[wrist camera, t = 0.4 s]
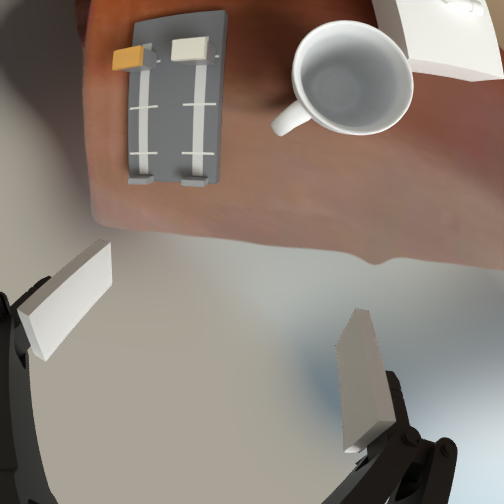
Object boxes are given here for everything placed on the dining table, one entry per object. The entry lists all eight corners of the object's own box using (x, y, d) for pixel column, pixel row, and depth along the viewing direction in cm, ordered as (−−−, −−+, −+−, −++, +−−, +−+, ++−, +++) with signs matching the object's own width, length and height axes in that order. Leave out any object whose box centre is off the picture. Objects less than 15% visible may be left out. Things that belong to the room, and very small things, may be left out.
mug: (303, 163, 36) (308, 184, 24) (250, 98, 33) (228, 86, 22) (391, 103, 31) (436, 99, 19) (340, 37, 28) (361, 1, 16)
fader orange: (133, 56, 30) (113, 50, 25) (157, 52, 29) (140, 45, 25) (132, 73, 31) (112, 69, 26) (156, 69, 30) (138, 64, 26)
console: (141, 26, 29) (127, 19, 26) (228, 14, 28) (221, 4, 24) (136, 177, 40) (122, 183, 36) (219, 180, 39) (211, 187, 35)
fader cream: (187, 48, 29) (172, 40, 24) (216, 46, 29) (205, 36, 24) (186, 66, 30) (170, 60, 26) (215, 65, 30) (203, 57, 25)
